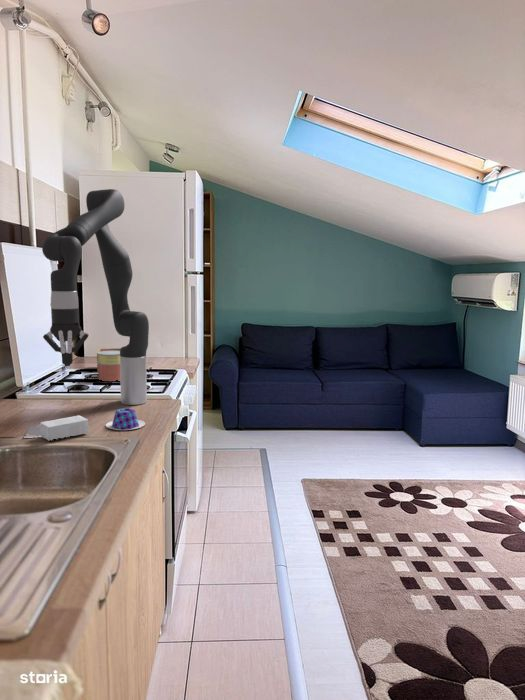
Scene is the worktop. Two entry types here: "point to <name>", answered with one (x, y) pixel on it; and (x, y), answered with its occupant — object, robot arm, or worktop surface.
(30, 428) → the mat
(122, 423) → the pudding
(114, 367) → the canned food
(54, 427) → the skincare box
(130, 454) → the worktop surface
